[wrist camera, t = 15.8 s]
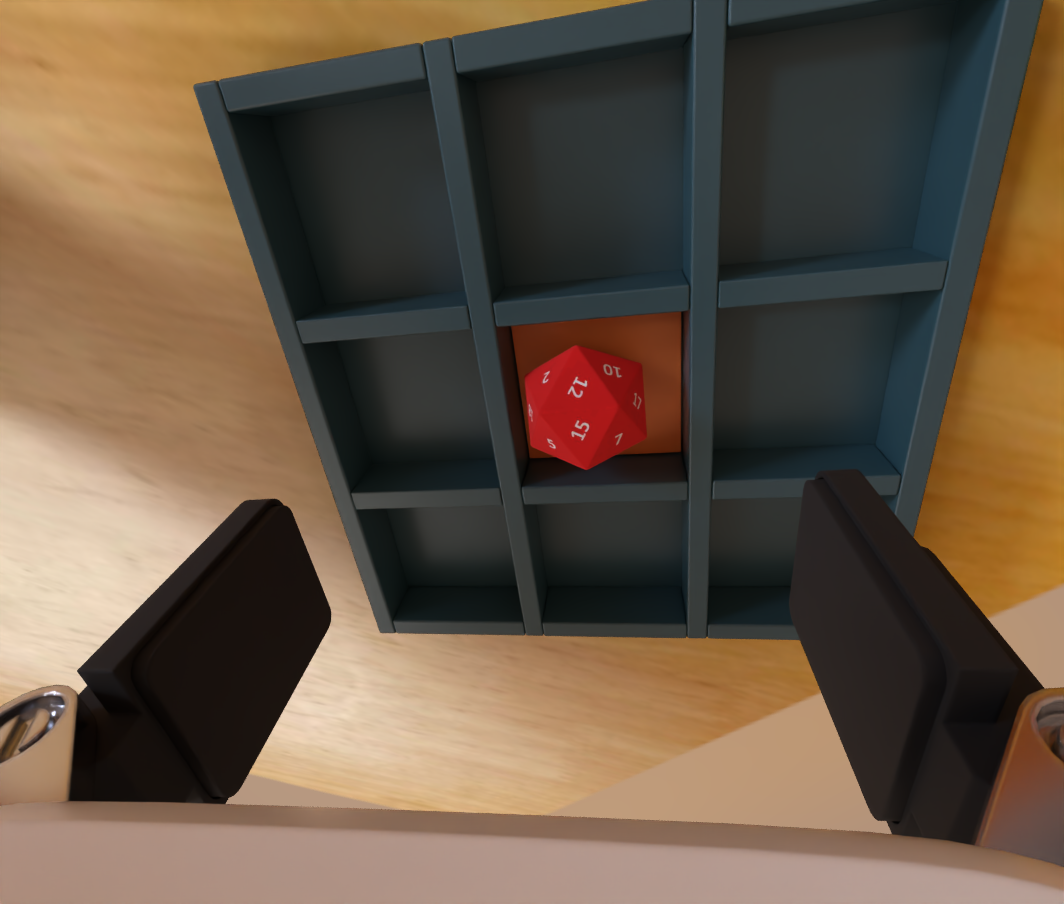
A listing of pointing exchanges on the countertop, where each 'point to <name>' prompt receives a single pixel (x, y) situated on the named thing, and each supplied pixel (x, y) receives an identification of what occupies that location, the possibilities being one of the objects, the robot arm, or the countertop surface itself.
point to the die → (586, 406)
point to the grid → (624, 288)
